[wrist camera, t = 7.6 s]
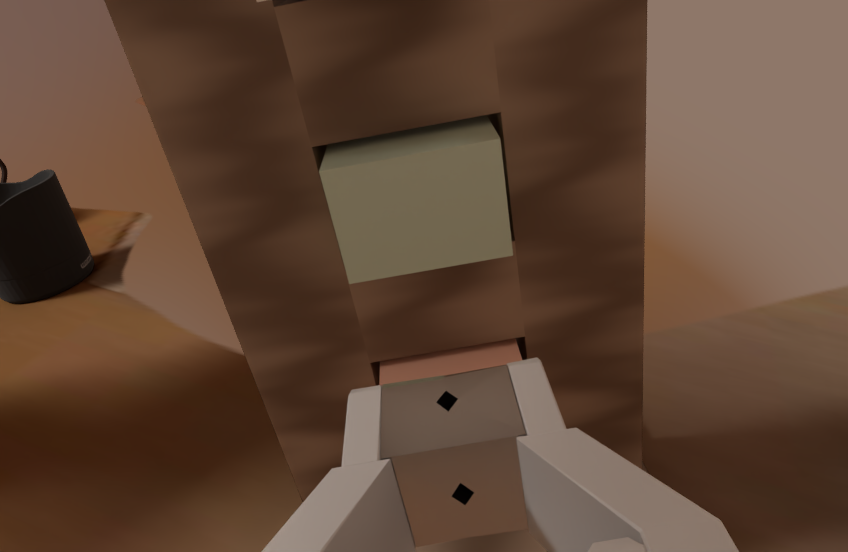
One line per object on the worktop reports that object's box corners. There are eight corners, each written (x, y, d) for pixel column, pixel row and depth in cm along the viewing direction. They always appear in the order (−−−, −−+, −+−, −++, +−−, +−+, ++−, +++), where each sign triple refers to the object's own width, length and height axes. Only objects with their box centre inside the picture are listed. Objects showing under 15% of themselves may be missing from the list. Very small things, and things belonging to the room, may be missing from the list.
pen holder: (32, 313, 53) (-28, 212, 49) (-22, 301, 58) (-81, 207, 53) (119, 262, 60) (74, 169, 55) (65, 255, 65) (19, 168, 60)
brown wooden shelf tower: (302, 654, 23) (-591, -1190, 6) (330, 431, 33) (28, -472, 17) (694, 594, 22) (882, -1616, 6) (596, 387, 33) (560, -593, 16)
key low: (399, 510, 20) (378, 433, 18) (397, 390, 26) (380, 322, 24) (545, 487, 20) (537, 407, 18) (512, 371, 26) (503, 300, 24)
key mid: (349, 284, 18) (318, 171, 16) (358, 205, 23) (336, 115, 22) (512, 255, 18) (500, 138, 16) (484, 182, 23) (472, 90, 22)
